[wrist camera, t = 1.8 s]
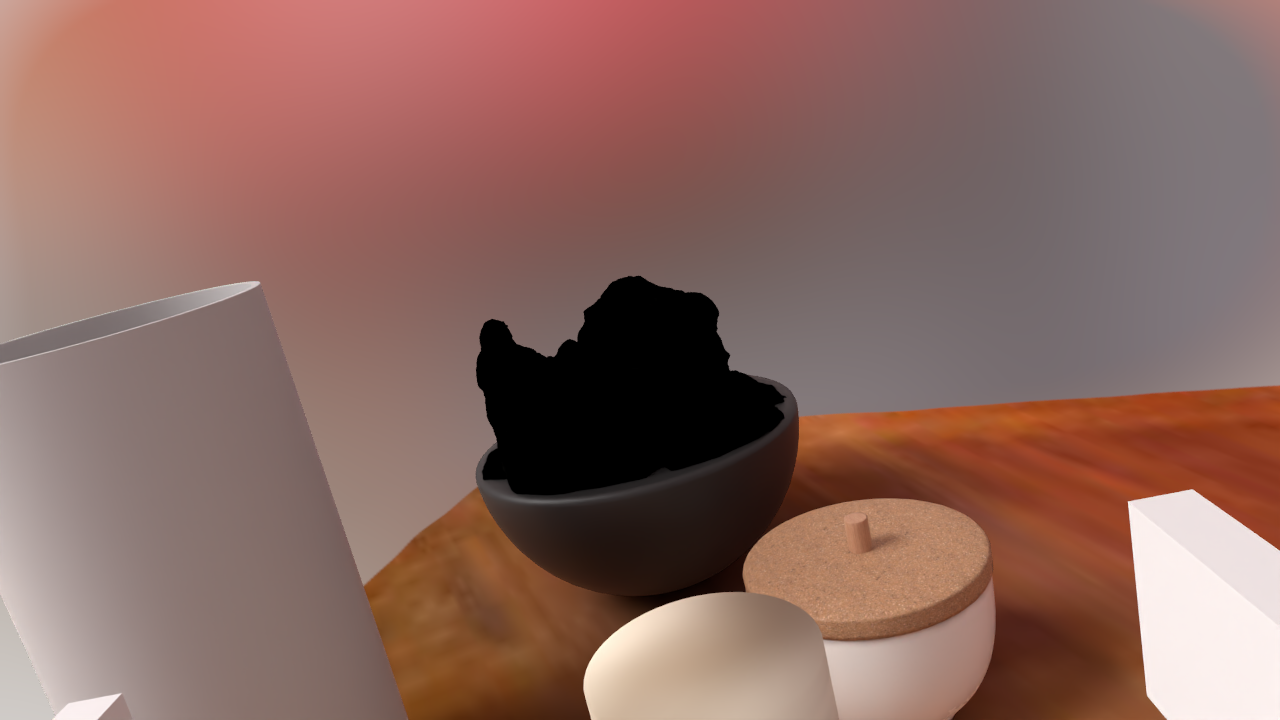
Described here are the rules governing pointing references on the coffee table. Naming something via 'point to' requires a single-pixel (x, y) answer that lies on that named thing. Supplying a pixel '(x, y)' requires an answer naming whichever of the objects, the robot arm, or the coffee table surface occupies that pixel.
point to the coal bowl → (633, 445)
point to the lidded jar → (888, 601)
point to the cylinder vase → (179, 521)
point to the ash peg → (713, 663)
